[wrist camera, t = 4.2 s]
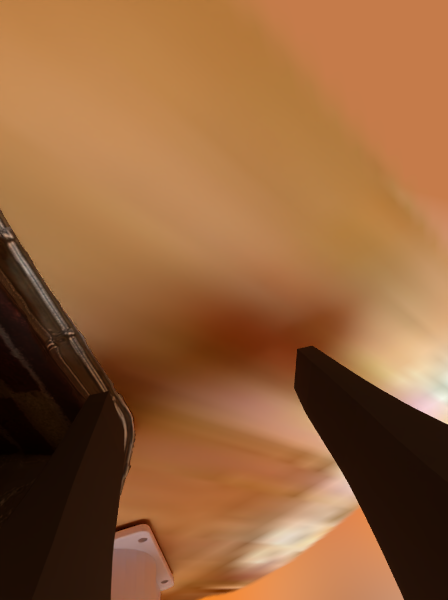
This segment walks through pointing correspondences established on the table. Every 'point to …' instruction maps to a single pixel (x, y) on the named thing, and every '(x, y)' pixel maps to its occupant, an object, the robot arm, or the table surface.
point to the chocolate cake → (40, 375)
